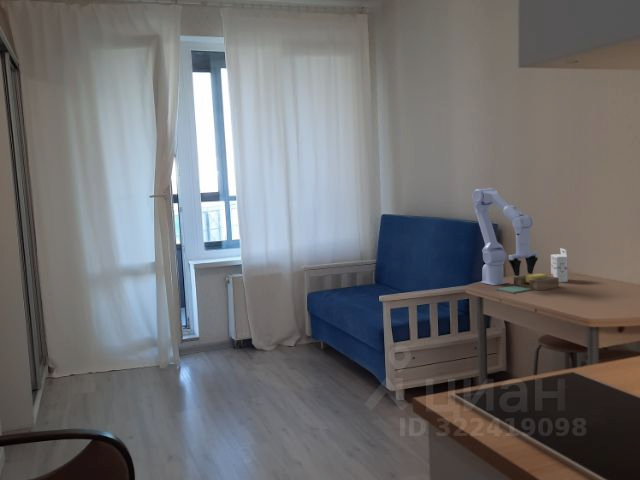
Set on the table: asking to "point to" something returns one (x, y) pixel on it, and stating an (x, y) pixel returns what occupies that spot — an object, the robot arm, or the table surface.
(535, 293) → the table surface
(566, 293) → the table surface
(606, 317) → the table surface
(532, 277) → the slab
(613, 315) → the table surface
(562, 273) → the ink cartridge box
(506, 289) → the mat
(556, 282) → the pocket board
